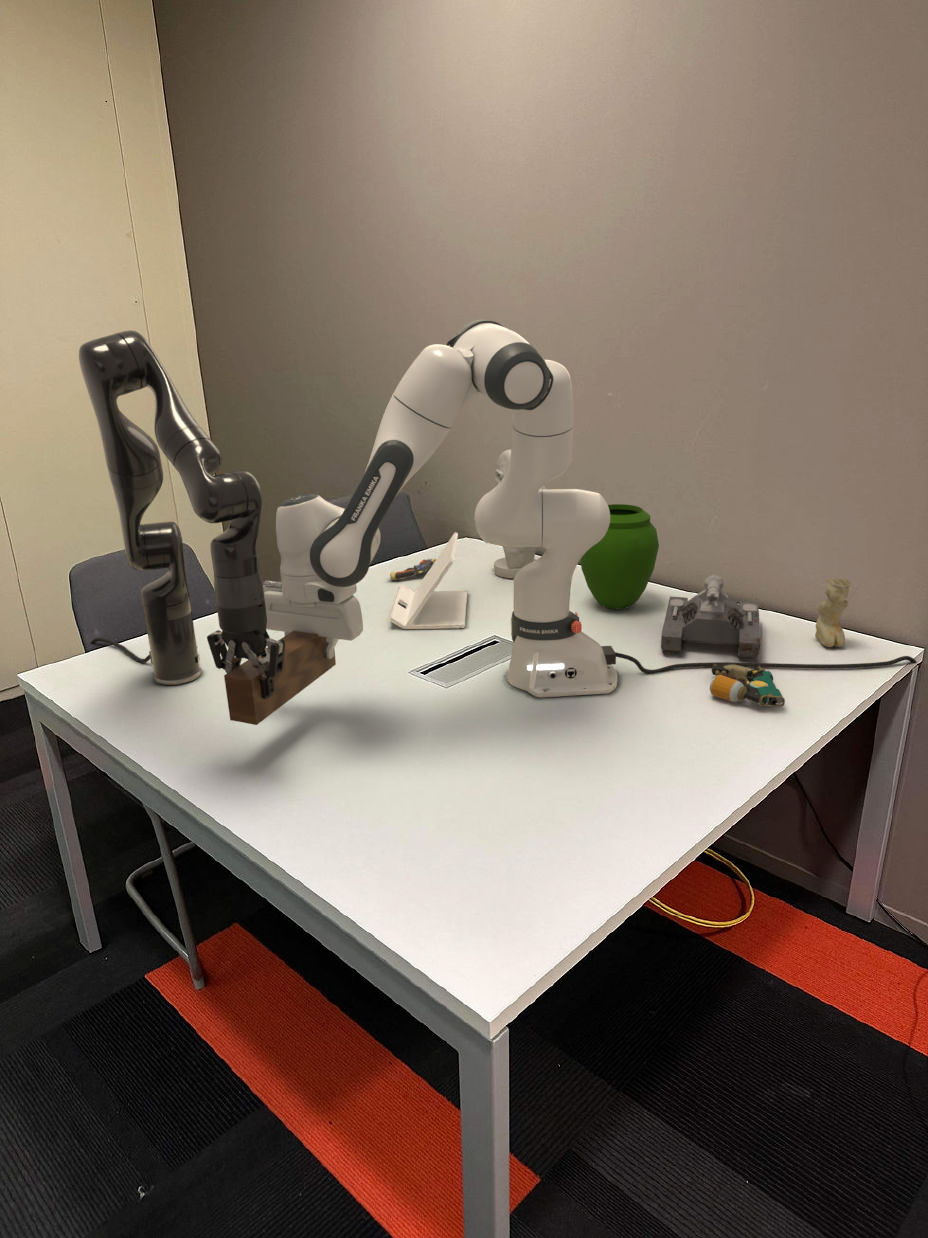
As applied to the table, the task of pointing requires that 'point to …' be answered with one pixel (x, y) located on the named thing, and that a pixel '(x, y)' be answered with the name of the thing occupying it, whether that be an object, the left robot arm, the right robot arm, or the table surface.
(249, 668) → the bar
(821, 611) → the sculpture
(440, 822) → the table surface
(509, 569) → the bust sculpture
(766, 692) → the spray gun
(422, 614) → the tablet stand
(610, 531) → the vase
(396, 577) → the toy gun
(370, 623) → the table surface
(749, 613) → the toy
